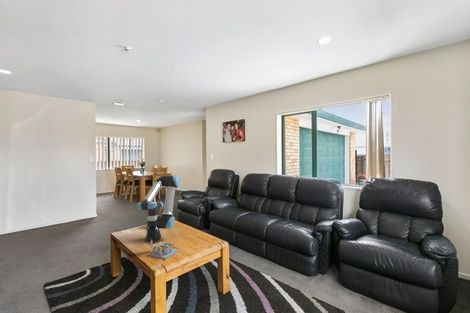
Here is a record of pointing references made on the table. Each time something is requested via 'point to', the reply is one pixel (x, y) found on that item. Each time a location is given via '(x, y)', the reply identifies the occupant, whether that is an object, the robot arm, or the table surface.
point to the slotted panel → (159, 248)
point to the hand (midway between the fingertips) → (152, 247)
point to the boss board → (167, 252)
